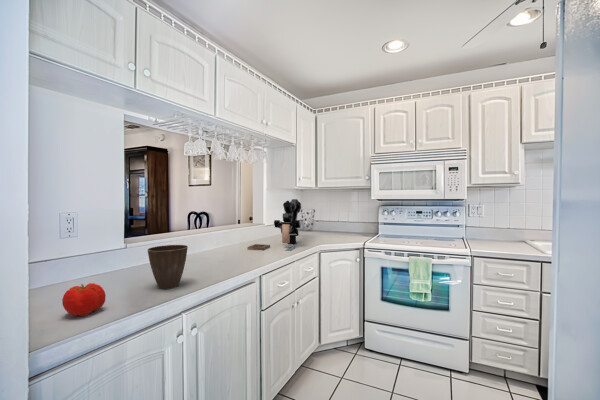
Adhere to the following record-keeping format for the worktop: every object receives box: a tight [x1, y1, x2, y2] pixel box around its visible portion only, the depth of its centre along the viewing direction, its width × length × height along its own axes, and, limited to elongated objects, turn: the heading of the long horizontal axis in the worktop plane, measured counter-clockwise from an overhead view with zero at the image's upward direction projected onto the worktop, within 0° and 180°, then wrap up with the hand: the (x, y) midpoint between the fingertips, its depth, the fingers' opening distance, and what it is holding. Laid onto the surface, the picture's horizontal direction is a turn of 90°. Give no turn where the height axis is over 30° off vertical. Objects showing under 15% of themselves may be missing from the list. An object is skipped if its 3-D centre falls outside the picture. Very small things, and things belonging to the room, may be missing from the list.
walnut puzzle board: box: [246, 243, 271, 251], centre depth 195 cm, size 12×12×2 cm
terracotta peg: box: [281, 224, 290, 244], centre depth 196 cm, size 5×5×13 cm
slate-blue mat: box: [284, 246, 296, 252], centre depth 196 cm, size 11×11×1 cm
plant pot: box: [147, 244, 188, 290], centre depth 114 cm, size 15×15×16 cm
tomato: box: [61, 282, 107, 317], centre depth 88 cm, size 11×11×9 cm
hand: (285, 233), depth 195 cm, fingers closed on terracotta peg, 5 cm apart
